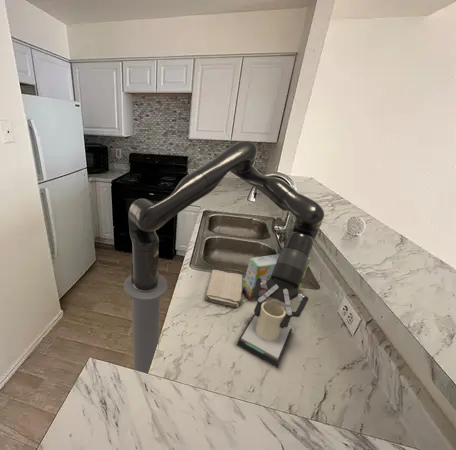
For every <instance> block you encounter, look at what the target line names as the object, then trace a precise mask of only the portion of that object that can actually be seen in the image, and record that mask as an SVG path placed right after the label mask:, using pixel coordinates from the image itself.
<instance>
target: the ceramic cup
mask: <svg viewBox="0 0 456 450" xmlns="http://www.w3.org/2000/svg"><path fill="white" fill-rule="evenodd" d="M285 314H287V311H286V308H285V307H284V306H283V305H281V304H280V303H279V302H276V301H272V300H266V301H265V302H263V303H262V305H261V309H260V313H259V316H258V320H257V324H256V332H257V334H258V335H259V336H260V337H261V338H262V339H264V340H267V341H275V340H277V339H278V336H279V334H280V330H281V325H282V322H283V319H284V317H285Z"/></svg>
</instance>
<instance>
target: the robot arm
mask: <svg viewBox="0 0 456 450" xmlns="http://www.w3.org/2000/svg"><path fill="white" fill-rule="evenodd" d="M257 154H258V148H257V145H256V144H255V143H254V142H252V141H251V140H241V141H238V142H236V143H234V144H232V145H231V146H229V147H228V148H227V149H226V150H224V151H223V152H222V153H220V154H219V155H218V156H216V157H215V158H213V159H211V160H210V161H209V162H207V163H205V164H204V165H203V166H201V167H199V168H197V169H195V170H194V171H192V172H190V173H189V174H187V175H185V176H184V177H183V178H182V179H181V180H180V181H179V182H178V184H177V185H176V186H175V188H174V190H173V191H172V192H171V193H170V194H169V195H168V196H166V197H165V198H163V199H162V200H160V201H158V202H155V203H153V202H152V201H150V200H149V199H147V198H138V199H136V200H134V201H133V202H132V203H131V204H130V207H129V210H128V229H129V237H130V240H131V244H132V245H131V246H132V247H131V249H132V261H131V262H130V275H131V282H132V284H133V286H134V288H135V289H136V290H138V291H140V292H151V291H153V290H155V289H156V288H157V287H158V277H159V275H158V274H159V254H160V253H159V252H160V251H159V248H160V247H159V246H160V238H159V236H158V234H157V232H156V231H157V230H159V229H160V228H162V227H164V225H165V224H166V223H168V222H169V221H170V220H172V219H173V218H174V217H175V216H177V215H178V214H180V213H181V212H182V211H184V210H185V209H187V208H189V207H190V206H191V205H193V204H194V203H195V202H197V201H199V200H200V199H202V198H204V197H206V196H207V195H209V194H210V193H212V192H213V190H215V189H216V187H218V185H219V184H220V183H221V182H222V180H223V179H224V178H225V177H226V175H227V174H228V173H229V172H231V173H232V174H233V175H235V176H236V177H238V178H240V179H241V180H242V181H245V182H246V183H247V184H248V185H251V186H252V187H253V188H255V189H257V190H258V191H259V192H261V193H262V194H263V195H265V196H266V197H267V198H268V199H269V200H270V201H271V202H273V203H274V205H276V206H277V207H278V208H279V209H280V210H282V211H284V212H289V213H291V214H292V215H293V216H294V217H295V220H294V223H293V226H292V229H291V232H290V233H289V234H288V236H287V237H286V239H285V242H284V245H283V247H282V249H281V252H280V253H279V254H280V255H279V257H278V259H277V262H276V265H275V267H274V270H273V272H272V275H271V277H270V279H269V280H267V281H266V280H262V279H261V278H257V280H256V284H255V288H254V292H253V297H254V298H255V299H254V300H256V304H255V307H254V309H253V313H254V314H255V313H256V314H255V316H257V317H258V316H259V313H260V309H261V305H262V303H263V302H265V301H268V300H269V299H271V298H272V299H274V300H277V301H279V302H281V303H284V304H285V311H286V314H285V317H284V319H283V322H282V325H281V328H282V329H284V327H285V328H286V327H289V325H290V321H291V319H292V318H300V317H301V315H302V313H303V311H304V309H305V307H306V305H307V304H308V301H309V296H307V295H303V294H301V293H299V291H298V288H299V285H300V283H301V280H302V277H303V275H304V272H305V270H306V266H307V263H308V258H309V257H311V253H312V250H313V248H314V241H315V239H316V238H317V235H318V233H319V231H320V228H321V226H322V223H323V221H324V218H325V211H324V209H323V207H322V206H321V205H320V204H319V203H318V202H317V201H315V200H313V199H312V198H309V197H308V196H306V195H304V194H302V193H299V192H298V191H297V190H296V189H295V188H294V187H292V186H291V185H290V184H289V183H287V182H286V181H284V180H283V179H281V178H278V177H276V176H270V175H269V176H268V175H265V174H262V173H261V172H259V171H258V170H257V168H256V167H255V162H256V159H257ZM306 271H307V270H306ZM265 284H266V285H267V288H268V291H267V292H266V293H264V295H262V296H261V297H259V296H258V295H259V291H260V287H263V286H264V285H265ZM295 298H297V299H298V300H297V301H298V302H297V303H299V305H298V306H297V309H296V310H295V311H294V310H292V305H291V301H292V300H294V299H295Z"/></svg>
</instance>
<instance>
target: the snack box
mask: <svg viewBox="0 0 456 450" xmlns="http://www.w3.org/2000/svg"><path fill="white" fill-rule="evenodd" d="M279 255H280V253H277V254H269V255H264V256H257V257H256V256H255V257H250V258H249V260H248V264H247V265H248V266H247V269H246V273H245V277H244V282H243V285H242V293H243V294H244V296H245V297H246V298H247V299H248V300H249V301H253V300H256V299H255V298H254V297H253V292H254V288H255V284H256V280H257V278H261V279H262V280H266V281H267V280H269V279H270V277H271V275H272V272H273V270H274V267H275V265H276V262H277V259H278V257H279ZM310 263H311V256H309V258H308V263H307V266H306V270H305V272H304V275H303V277H302V280H301V283H300V285H299V288H298V292H300V290H301V287H302V284H303V281H304V278H305V275H306V273H307V271H308V268H309V265H310ZM267 291H268V288H267V285H266V284H265V285H264V286H263V287H260V291H259V295H258V296H259V297H261V296H262V295H264V293H266V292H267Z"/></svg>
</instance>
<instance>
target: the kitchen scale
mask: <svg viewBox="0 0 456 450" xmlns="http://www.w3.org/2000/svg"><path fill="white" fill-rule="evenodd" d="M255 314H256V313H254V314H253V316H252V317H251V319H250V320H249V322H248V323H247V325H246V327H245V329H244V330H243V332H242V333H241V335H240V337H239V338H238V340H237V346H239V347H241V348H243V350H246V351H248V352H250V353H251V354H253V355H254V356H256V357H258V358H259V359H261V360H263V361H265V362H267V363H268V364H270V365H272V366H274V367H275V368H279V365H280V362H281V359H282V357H283V355H284V352H285V350H286V347H287V344H288V342H289V339H290V337H291V334H292V332H293V328H291V326H288V327H286V328H285V327H284V329H282V328H281V330H280V334H279V336H278V339H277V340H275V341H267V340H264V339H262V338H261V337H260V336H259V335H258V334H257V332H256V324H257V320H258V317H257V316H255Z"/></svg>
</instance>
